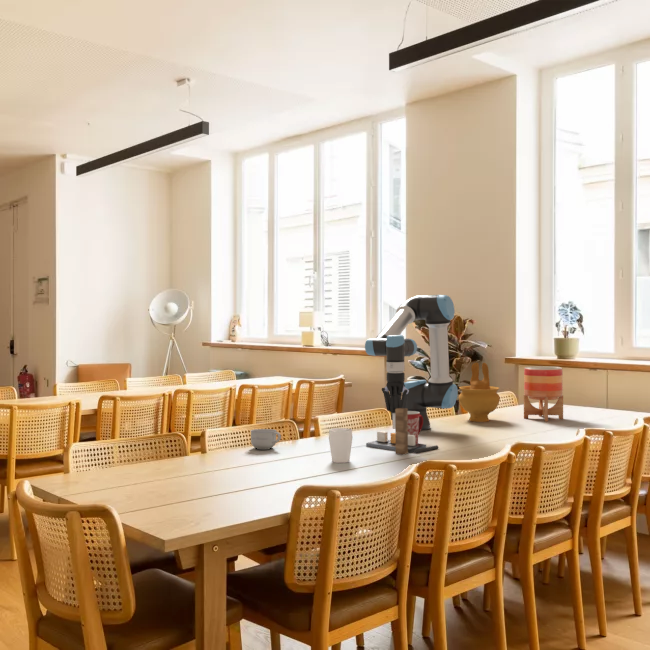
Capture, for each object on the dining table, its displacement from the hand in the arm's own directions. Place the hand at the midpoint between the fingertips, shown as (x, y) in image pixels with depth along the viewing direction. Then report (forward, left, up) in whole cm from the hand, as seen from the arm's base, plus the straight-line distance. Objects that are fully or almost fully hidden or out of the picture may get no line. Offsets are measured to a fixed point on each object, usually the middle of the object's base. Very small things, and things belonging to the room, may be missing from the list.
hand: (395, 428), depth 299 cm
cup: (+36, -1, -8) cm, 37 cm away
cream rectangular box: (0, +7, -7) cm, 10 cm away
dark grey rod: (-1, +14, -8) cm, 16 cm away
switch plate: (0, 0, -8) cm, 8 cm away
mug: (-12, 0, -8) cm, 15 cm away
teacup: (+36, -41, -8) cm, 55 cm away
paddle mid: (0, 0, -7) cm, 7 cm away
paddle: (0, -7, -7) cm, 10 cm away
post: (+9, +9, -8) cm, 15 cm away
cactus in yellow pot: (-87, -8, -8) cm, 88 cm away
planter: (-112, +16, -8) cm, 114 cm away
